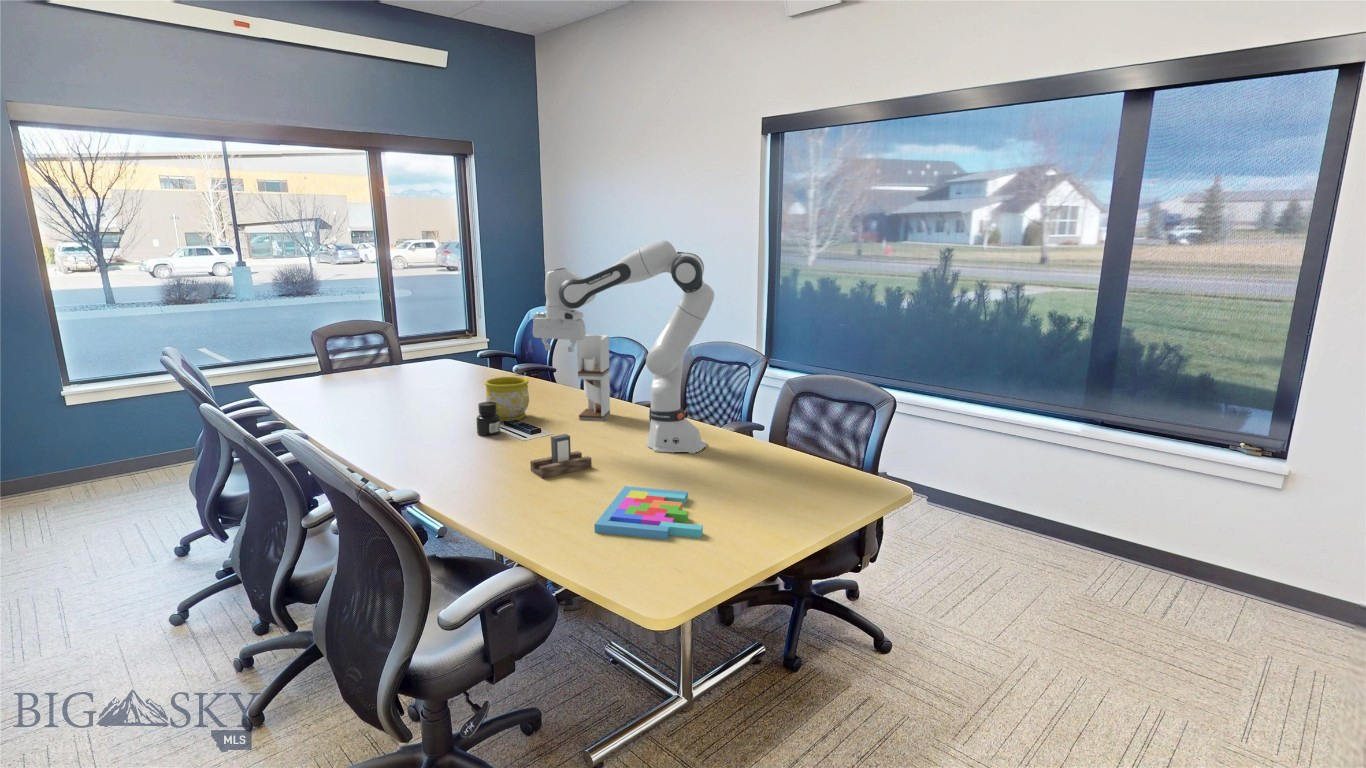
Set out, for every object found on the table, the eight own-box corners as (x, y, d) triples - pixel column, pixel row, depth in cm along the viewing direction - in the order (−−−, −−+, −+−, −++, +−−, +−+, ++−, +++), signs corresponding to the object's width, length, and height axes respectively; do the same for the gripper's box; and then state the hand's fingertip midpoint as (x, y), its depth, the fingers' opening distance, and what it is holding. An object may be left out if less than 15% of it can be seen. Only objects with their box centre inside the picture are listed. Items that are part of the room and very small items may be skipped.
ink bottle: (496, 436, 257) (494, 406, 254) (473, 436, 257) (472, 406, 254) (503, 429, 266) (502, 400, 264) (481, 429, 266) (480, 400, 264)
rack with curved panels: (586, 413, 292) (584, 334, 285) (610, 414, 291) (608, 335, 284) (579, 419, 281) (577, 338, 274) (603, 421, 280) (601, 339, 272)
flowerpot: (524, 424, 275) (522, 385, 271) (481, 423, 275) (478, 385, 271) (534, 412, 292) (532, 376, 289) (493, 412, 292) (491, 376, 289)
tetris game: (594, 534, 174) (698, 544, 169) (594, 524, 174) (699, 534, 168) (624, 494, 201) (715, 502, 196) (624, 486, 201) (715, 494, 195)
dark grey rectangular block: (551, 465, 221) (550, 436, 218) (566, 462, 224) (565, 433, 222) (556, 467, 218) (555, 438, 216) (571, 464, 222) (570, 436, 219)
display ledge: (578, 460, 230) (578, 450, 229) (591, 467, 223) (591, 457, 222) (530, 470, 220) (530, 460, 219) (542, 478, 213) (542, 468, 212)
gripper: (528, 313, 240) (530, 350, 243) (579, 315, 234) (580, 353, 237) (537, 311, 246) (538, 348, 249) (587, 313, 240) (588, 351, 243)
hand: (559, 350), depth 243 cm, fingers open, 8 cm apart
